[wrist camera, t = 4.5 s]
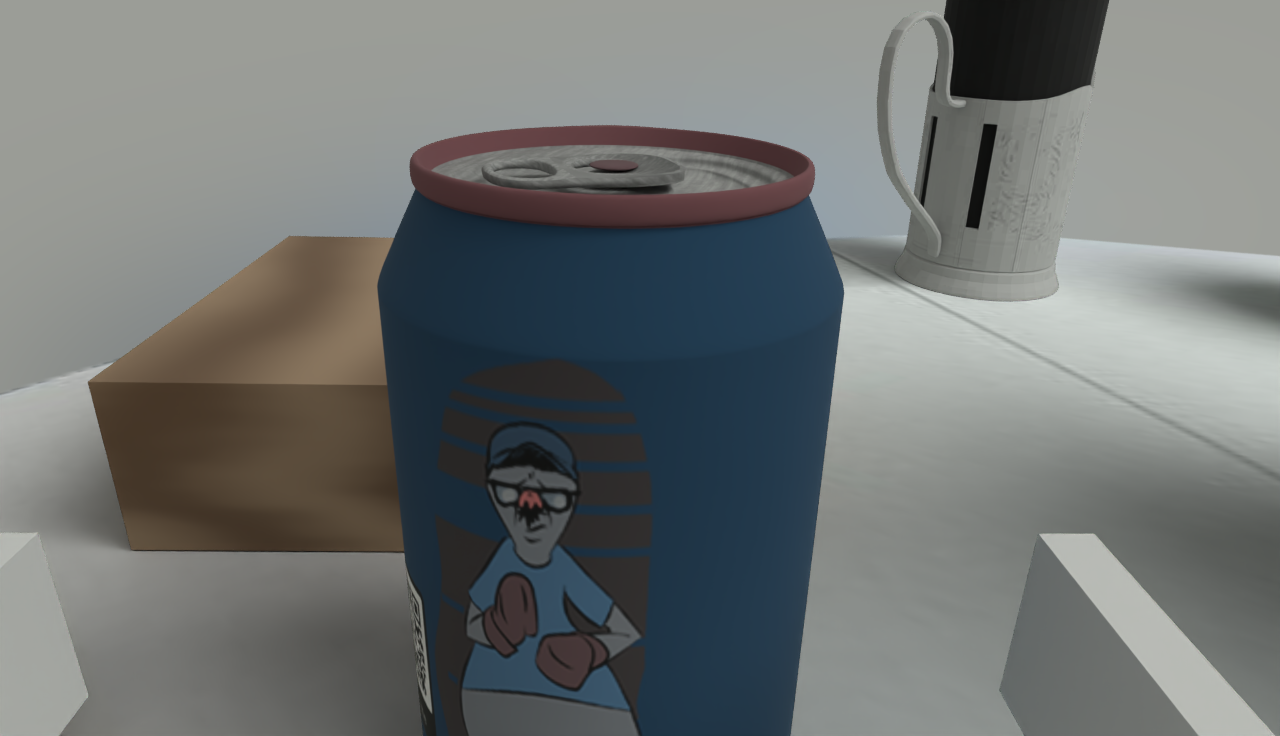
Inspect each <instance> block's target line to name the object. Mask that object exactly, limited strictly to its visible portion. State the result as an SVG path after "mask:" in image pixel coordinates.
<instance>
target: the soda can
mask: <svg viewBox="0 0 1280 736" xmlns="http://www.w3.org/2000/svg"><path fill="white" fill-rule="evenodd" d="M410 176H411V180H412V183H413V185H414V187H415V188H416V189H415V191H414V193H413V196H412V198H411V200H410V203H409V205H408V207H407V210H406V212H405V214H404V217H403V219H402V221H401V224H400V226H399V228H398V230H397V233H396V235H395V238H394V240H393V242H392V245H391V247H390V249H389V252H388V254H387V257H386V259H385V261H384V264H383V266H382V269H381V272H380V275H379V279H378V283H377V291H378V301H379V310H380V320H381V330H382V340H383V349H384V359H385V369H386V378H387V388H388V398H389V408H390V417H391V427H392V437H393V446H394V456H395V466H396V476H397V485H398V495H399V505H400V514H401V524H402V534H403V544H404V553H405V563H406V573H407V582H408V592H409V602H410V612H411V621H412V631H413V641H414V651H415V660H416V670H417V680H418V689H419V699H420V709H421V719H422V728H423V736H790V734H791V726H792V718H793V710H794V701H795V693H796V685H797V677H798V668H799V660H800V652H801V644H802V635H803V627H804V619H805V611H806V603H807V594H808V586H809V578H810V570H811V561H812V553H813V545H814V537H815V528H816V520H817V512H818V504H819V495H820V487H821V479H822V471H823V462H824V454H825V446H826V438H827V429H828V421H829V413H830V405H831V396H832V388H833V380H834V372H835V364H836V355H837V347H838V339H839V331H840V322H841V314H842V306H843V298H844V288H843V283H842V279H841V277H840V274H839V271H838V268H837V266H836V263H835V260H834V258H833V255H832V253H831V250H830V247H829V245H828V242H827V240H826V237H825V235H824V232H823V230H822V227H821V225H820V222H819V220H818V217H817V215H816V212H815V210H814V207H813V205H812V202H811V199H810V197H809V194H810V193H811V191H812V188H813V185H814V180H815V167H814V165H813V162H812V161H811V160H810V159H809V158H808V157H807V156H805V155H803V154H802V153H800V152H797V151H795V150H792V149H790V148H787V147H784V146H781V145H777V144H773V143H769V142H765V141H760V140H755V139H750V138H744V137H738V136H731V135H725V134H717V133H708V132H699V131H689V130H677V129H666V128H653V127H640V126H617V125H597V126H596V125H595V126H564V127H542V128H525V129H511V130H500V131H492V132H484V133H476V134H469V135H463V136H458V137H453V138H449V139H445V140H441V141H437V142H434V143H431V144H429V145H426V146H424V147H422V148H420V149H418V150H417V151H416V152H415V153H414V154H413V155H412V157H411V160H410Z"/></svg>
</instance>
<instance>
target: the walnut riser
mask: <svg viewBox="0 0 1280 736" xmlns="http://www.w3.org/2000/svg"><path fill="white" fill-rule="evenodd" d="M393 240H394V238H371V237H370V238H369V237H307V236H289V237H287V238H286V239H285V240H283V241H282V242H281V243H279V244H278V245H276V246H275V247H274V248H272V249H271V250H269V251H268V252H267V253H265V254H264V255H262V256H261V257H260V258H258V259H257V260H256V261H254V262H253V263H251V264H250V265H249V266H248V267H246V268H244V269H243V270H242V271H240V272H239V273H238V274H236V275H235V276H234V277H232V278H231V279H229V280H228V281H226V282H225V283H224V284H222V285H221V286H220V287H218V288H217V289H215V290H214V291H213V292H211V293H210V294H209V295H207V296H206V297H204V298H203V299H202V300H200V301H199V302H197V303H196V304H195V305H193V306H192V307H191V308H189V309H188V310H186V311H185V312H184V313H182V314H181V315H180V316H178V317H177V318H175V319H174V320H173V321H171V322H170V323H169V324H167V325H166V326H164V327H163V328H162V329H160V330H159V331H158V332H156V333H155V334H153V335H152V336H151V337H149V338H148V339H147V340H145V341H144V342H142V343H141V344H139V345H138V346H137V347H135V348H134V349H132V350H131V351H130V352H128V353H127V354H126V355H124V356H123V357H121V358H120V359H119V360H117V361H116V362H114V363H113V364H112V365H110V366H109V367H108V368H106V369H105V370H103V371H102V372H101V373H99V374H98V375H96V376H95V377H94V378H92V379H91V380H90V381H88V385H89V389H90V392H91V396H92V400H93V404H94V408H95V412H96V416H97V419H98V423H99V427H100V431H101V435H102V439H103V443H104V446H105V450H106V454H107V458H108V462H109V466H110V470H111V473H112V477H113V481H114V485H115V489H116V493H117V497H118V501H119V504H120V508H121V512H122V516H123V520H124V524H125V528H126V531H127V535H128V539H129V543H130V547H131V550H238V551H404V544H403V534H402V524H401V514H400V505H399V495H398V485H397V476H396V466H395V456H394V446H393V437H392V427H391V417H390V408H389V398H388V388H387V378H386V369H385V359H384V349H383V340H382V330H381V320H380V310H379V301H378V291H377V283H378V279H379V275H380V272H381V269H382V266H383V264H384V261H385V259H386V257H387V254H388V252H389V249H390V247H391V245H392V242H393Z"/></svg>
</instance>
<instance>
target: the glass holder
mask: <svg viewBox="0 0 1280 736" xmlns="http://www.w3.org/2000/svg"><path fill="white" fill-rule="evenodd" d="M1108 3H1109V0H947V1H946V8H945V14H944V18H943V17H942V16H940V15H938V14H936V13H934V12H932V11H928V12H927V11H923V12H915V13H912V14H910V15H909V16H907V17H905V18H903V19H902V20H901V21H900V22H899V23H898V25H897V26H896V27H895V28H894V29H893V30H892V32H891V35H890V37H889V39H888V41H887V43H886V45H885V48H884V52H883V57H882V62H881V66H880V72H879V83H878V95H877V118H878V134H879V140H880V146H881V152H882V156H883V160H884V164H885V168H886V172H887V174H888V176H889V178H890V180H891V182H892V183H893V185H894V186H895V188H896V190H897V191H898V193H899V194H900V196H901V197H902V199H903V200H904V202H905V203H906V205H907V206H908V207H909V208H910V210H911V217H910V223H909V230H908V236H907V243H906V246H905V249H904V252H903V254H902V255H901V256H900V257H899V259H898V260H897V262H896V265H895V268H894V269H895V272H896V273H897V274H898V275H899V276H900V277H901V278H903V279H904V280H906V281H908V282H910V283H912V284H914V285H917V286H920V287H922V288H925V289H929V290H932V291H935V292H939V293H944V294H948V295H953V296H959V297H964V298H972V299H980V300H993V301H1026V300H1035V299H1040V298H1045V297H1048V296H1050V295H1053V294H1054V293H1055V292H1057V290H1058V288H1059V284H1058V279H1057V276H1056V273H1055V265H1056V264H1055V259H1056V255H1057V250H1058V246H1059V241H1060V237H1061V232H1062V228H1063V223H1064V219H1065V215H1066V210H1067V205H1068V201H1069V196H1070V192H1071V187H1072V183H1073V179H1074V174H1075V169H1076V165H1077V160H1078V156H1079V152H1080V147H1081V143H1082V138H1083V133H1084V129H1085V125H1086V120H1087V115H1088V111H1089V107H1090V102H1091V98H1092V93H1093V86H1094V78H1095V61H1096V57H1097V53H1098V48H1099V44H1100V39H1101V34H1102V30H1103V26H1104V21H1105V16H1106V12H1107V8H1108ZM924 19H925V20H927V21H928V22H929V23H930V25H931V26H932V27H933V29H934V32H935V35H936V38H937V45H938V60H937V67H936V74H935V80H934V83H933V84H932V85H931V87H930V90H929V96H928V103H927V110H926V116H925V123H924V130H923V136H922V143H921V150H920V156H919V163H918V170H917V177H916V183H915V190H914V194H913V192H912V190H911V189H910V187H909V186H908V184H907V182H906V179H905V178H904V175H903V173H902V171H901V168H900V164H899V160H898V157H897V153H896V147H895V141H894V136H893V128H892V93H893V81H894V71H895V66H896V61H897V57H898V52H899V48H900V46H901V44H902V42H903V40H904V37H905V35H906V33H907V32H908V31H909V30H910V29H911V28H912V27H913V26H914V25H915V24H916V23H918V22H920V21H922V20H924Z"/></svg>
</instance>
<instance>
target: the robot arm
mask: <svg viewBox="0 0 1280 736" xmlns="http://www.w3.org/2000/svg"><path fill="white" fill-rule="evenodd" d="M999 691H1000V692H1001V694H1002V696H1003V698H1004V700H1005V701H1006V703H1007V705H1008V707H1009V709H1010V710H1011V712H1012V714H1013V716H1014V718H1015V719H1016V721H1017V723H1018V725H1019V727H1020V728H1021V730H1022V732H1023V734H1024V735H1025V736H1275V735H1274V734H1273V733H1272V731H1271V730H1270V729H1269V728H1268V727H1267V726H1266V725H1265V724H1264V722H1263V721H1262V720H1261V719H1260V718H1259V717H1258V716H1257V715H1256V714H1255V712H1254V711H1253V710H1252V709H1251V708H1250V707H1249V706H1248V705H1247V704H1246V702H1245V701H1244V700H1243V699H1242V698H1241V697H1240V696H1239V695H1238V694H1237V692H1236V691H1235V690H1234V689H1233V688H1232V687H1231V686H1230V685H1229V683H1228V682H1227V681H1226V680H1225V679H1224V678H1223V677H1222V676H1221V675H1220V673H1219V672H1218V671H1217V670H1216V669H1215V668H1214V667H1213V666H1212V665H1211V663H1210V662H1209V661H1208V660H1207V659H1206V658H1205V657H1204V656H1203V654H1202V653H1201V652H1200V651H1199V650H1198V649H1197V648H1196V647H1195V646H1194V644H1193V643H1192V642H1191V641H1190V640H1189V639H1188V638H1187V637H1186V636H1185V634H1184V633H1183V632H1182V631H1181V630H1180V629H1179V628H1178V627H1177V625H1176V624H1175V623H1174V622H1173V621H1172V620H1171V619H1170V618H1169V617H1168V615H1167V614H1166V613H1165V612H1164V611H1163V610H1162V609H1161V608H1160V607H1159V605H1158V604H1157V603H1156V602H1155V601H1154V600H1153V599H1152V598H1151V596H1150V595H1149V594H1148V593H1147V592H1146V591H1145V590H1144V589H1143V588H1142V586H1141V585H1140V584H1139V583H1138V582H1137V581H1136V580H1135V579H1134V578H1133V576H1132V575H1131V574H1130V573H1129V572H1128V571H1127V570H1126V569H1125V567H1124V566H1123V565H1122V564H1121V563H1120V562H1119V561H1118V560H1117V559H1116V557H1115V556H1114V555H1113V554H1112V553H1111V552H1110V551H1109V550H1108V549H1107V547H1106V546H1105V545H1104V544H1103V543H1102V542H1101V541H1100V540H1099V539H1098V537H1097V536H1096V535H1095V534H1038V537H1037V541H1036V545H1035V549H1034V553H1033V557H1032V561H1031V565H1030V569H1029V573H1028V577H1027V581H1026V585H1025V589H1024V593H1023V597H1022V601H1021V605H1020V609H1019V613H1018V618H1017V622H1016V626H1015V630H1014V634H1013V638H1012V642H1011V646H1010V650H1009V654H1008V658H1007V662H1006V666H1005V670H1004V674H1003V678H1002V682H1001V686H1000V690H999ZM88 696H89V695H88V692H87V689H86V685H85V682H84V679H83V676H82V672H81V669H80V666H79V663H78V659H77V656H76V653H75V650H74V646H73V643H72V640H71V637H70V633H69V630H68V627H67V624H66V621H65V617H64V614H63V611H62V608H61V604H60V601H59V598H58V595H57V591H56V588H55V585H54V582H53V578H52V575H51V572H50V569H49V566H48V562H47V559H46V556H45V553H44V549H43V546H42V543H41V540H40V536H39V533H0V736H59V735H60V734H61V732H62V731H63V730H64V728H65V727H66V726H67V724H68V723H69V722H70V720H71V719H72V718H73V716H74V715H75V714H76V712H77V711H78V710H79V708H80V707H81V706H82V704H83V703H84V702H85V700H86V699H87V698H88Z"/></svg>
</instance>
